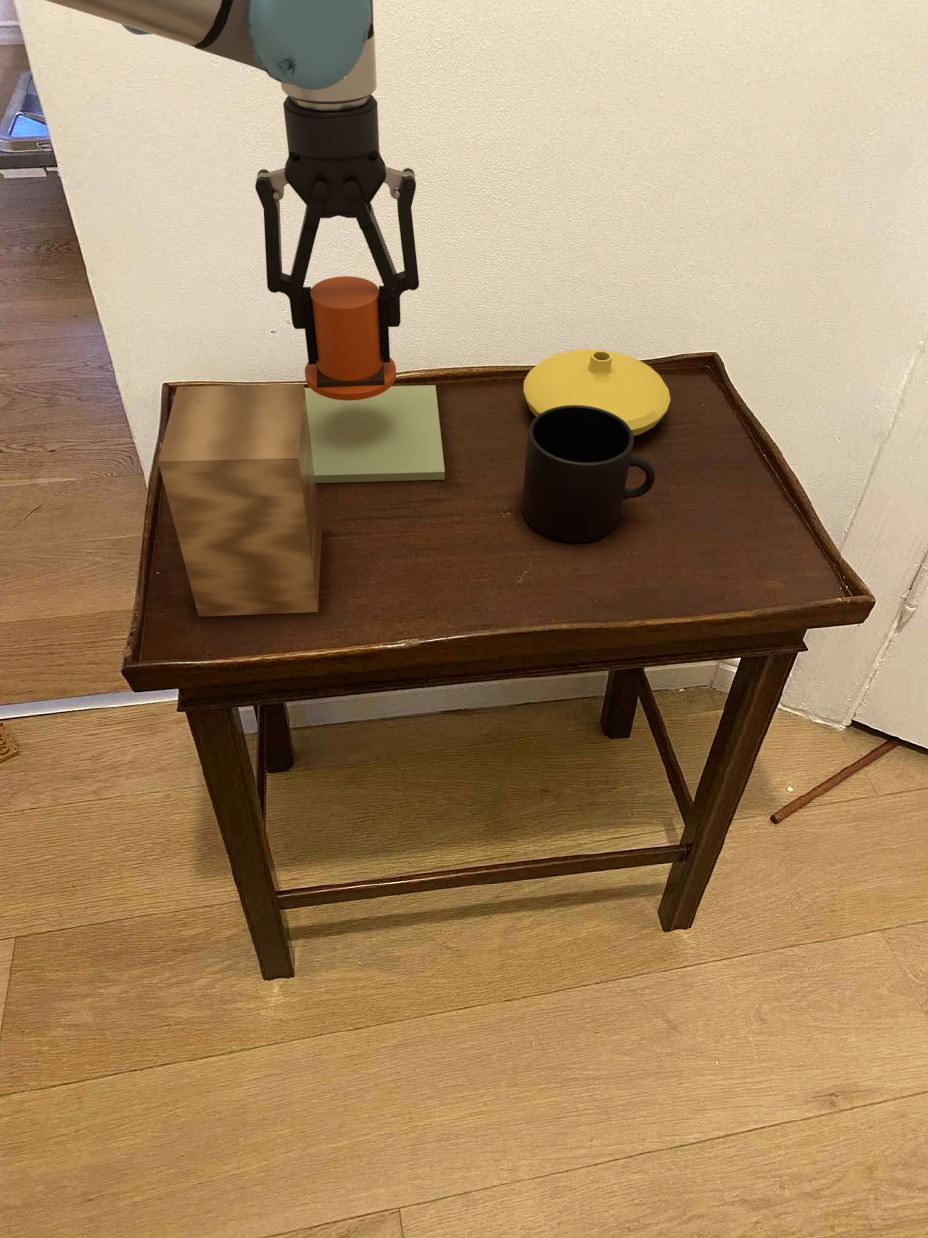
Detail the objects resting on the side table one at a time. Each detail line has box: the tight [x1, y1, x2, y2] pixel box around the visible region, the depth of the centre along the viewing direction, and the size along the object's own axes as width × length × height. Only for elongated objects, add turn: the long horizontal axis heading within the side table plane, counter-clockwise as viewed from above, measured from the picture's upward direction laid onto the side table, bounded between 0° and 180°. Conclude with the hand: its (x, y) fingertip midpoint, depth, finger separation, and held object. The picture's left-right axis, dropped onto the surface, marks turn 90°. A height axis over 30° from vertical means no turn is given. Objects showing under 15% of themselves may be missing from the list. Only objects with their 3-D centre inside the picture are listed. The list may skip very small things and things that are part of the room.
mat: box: [304, 384, 446, 484], centre depth 95 cm, size 18×16×1 cm
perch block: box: [157, 383, 322, 618], centre depth 75 cm, size 10×10×16 cm
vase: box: [522, 348, 671, 437], centre depth 97 cm, size 16×16×7 cm
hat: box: [304, 275, 397, 401], centre depth 88 cm, size 9×9×9 cm
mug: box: [521, 405, 656, 544], centre depth 85 cm, size 9×12×9 cm
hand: (349, 355), depth 89 cm, fingers closed on hat, 6 cm apart
